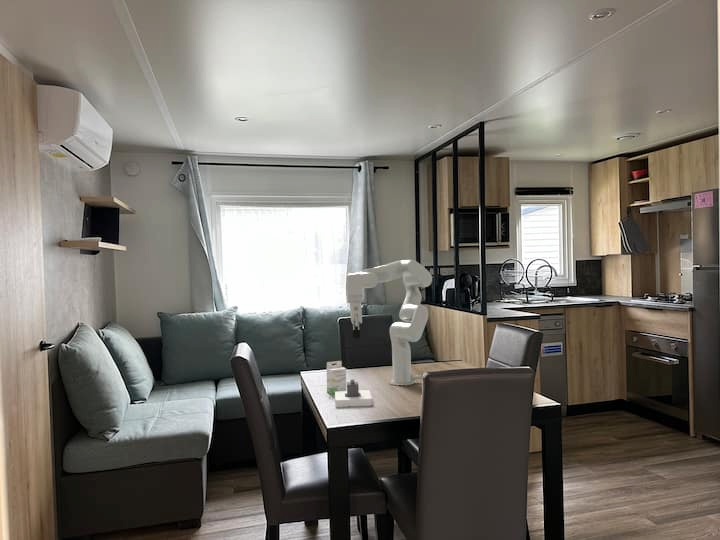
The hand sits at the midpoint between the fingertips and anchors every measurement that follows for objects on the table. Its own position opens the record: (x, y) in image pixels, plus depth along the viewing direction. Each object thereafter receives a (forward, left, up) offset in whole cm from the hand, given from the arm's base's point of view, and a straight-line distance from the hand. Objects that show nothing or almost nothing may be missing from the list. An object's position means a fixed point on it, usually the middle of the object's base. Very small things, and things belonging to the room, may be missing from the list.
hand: (356, 337), depth 242 cm
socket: (+3, +12, -27) cm, 30 cm away
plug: (+3, +12, -27) cm, 29 cm away
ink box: (+10, -7, -27) cm, 30 cm away
